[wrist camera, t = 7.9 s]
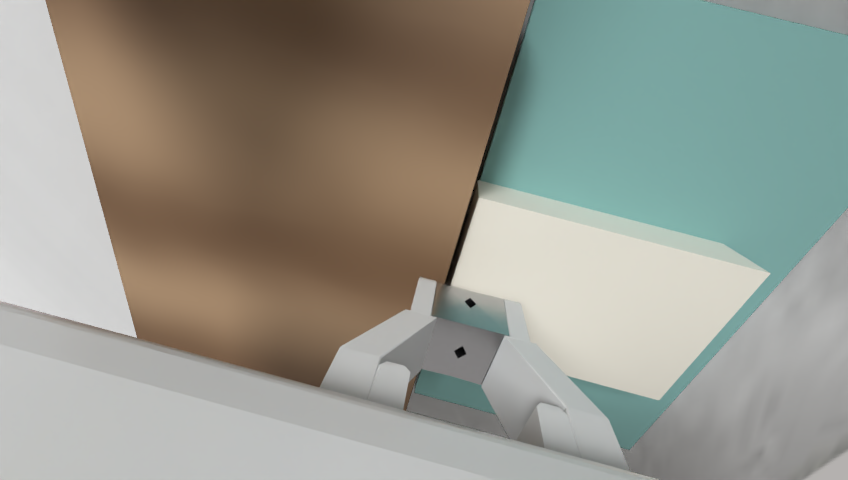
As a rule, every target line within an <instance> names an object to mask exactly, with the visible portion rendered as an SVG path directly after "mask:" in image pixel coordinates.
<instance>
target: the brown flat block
mask: <svg viewBox="0 0 848 480" xmlns="http://www.w3.org/2000/svg"><path fill="white" fill-rule="evenodd" d="M529 3H530V0H46V4H47V8H48V11H49V15H50V19H51V22H52V26H53V30H54V33H55V37H56V41H57V44H58V48H59V52H60V55H61V59H62V63H63V66H64V70H65V74H66V77H67V81H68V85H69V88H70V92H71V96H72V100H73V103H74V107H75V111H76V114H77V118H78V122H79V125H80V129H81V133H82V136H83V140H84V144H85V147H86V151H87V155H88V158H89V162H90V166H91V169H92V173H93V177H94V180H95V184H96V188H97V191H98V195H99V199H100V202H101V206H102V210H103V213H104V217H105V221H106V224H107V228H108V232H109V235H110V239H111V243H112V246H113V250H114V254H115V257H116V261H117V265H118V269H119V272H120V276H121V280H122V283H123V287H124V291H125V294H126V298H127V302H128V305H129V309H130V313H131V316H132V320H133V324H134V327H135V331H136V335H137V338H139V339H142V340H146V341H150V342H153V343H157V344H161V345H164V346H168V347H172V348H175V349H179V350H183V351H187V352H190V353H194V354H198V355H201V356H205V357H209V358H212V359H216V360H220V361H224V362H227V363H231V364H235V365H238V366H242V367H246V368H249V369H253V370H257V371H261V372H264V373H268V374H272V375H275V376H279V377H283V378H286V379H290V380H294V381H298V382H301V383H305V384H309V385H312V386H316V387H320V385H321V383H322V381H323V379H324V377H325V375H326V373H327V371H328V369H329V367H330V365H331V364H332V362H333V360H334V358H335V356H336V354H337V352H338V350H339V348H340V346H342V345H344V344H346V343H347V342H349V341H351V340H353V339H354V338H356V337H358V336H360V335H361V334H363V333H365V332H367V331H368V330H370V329H372V328H374V327H375V326H377V325H379V324H381V323H382V322H384V321H386V320H388V319H389V318H391V317H393V316H395V315H396V314H398V313H400V312H402V311H403V310H405V309H407V310H411V306H412V303H413V299H414V295H415V291H416V287H417V284H418V280H419V278H420V277H423V278H427V279H431V280H435V281H436V282H437V281H438V282H442V283H445V280H446V277H447V274H448V270H449V267H450V264H451V260H452V257H453V254H454V250H455V247H456V244H457V241H458V237H459V234H460V231H461V227H462V224H463V221H464V217H465V214H466V211H467V208H468V204H469V201H470V198H471V194H472V191H473V188H474V184H475V181H476V178H477V175H478V171H479V168H480V165H481V161H482V158H483V155H484V151H485V148H486V145H487V142H488V138H489V135H490V132H491V128H492V125H493V122H494V119H495V115H496V112H497V109H498V105H499V102H500V99H501V95H502V92H503V89H504V86H505V82H506V79H507V76H508V72H509V69H510V66H511V62H512V59H513V56H514V53H515V49H516V46H517V43H518V39H519V36H520V33H521V29H522V26H523V23H524V20H525V16H526V13H527V10H528V6H529ZM416 376H417V375H416ZM416 376H415V377H414V378H413V379H412V380H411V381H410V382H409V383H408V387H407V392H406V398H405V403H404V408H403V410H405V411H406V409H407V405H408V402H409V399H410V396H411V392H412V389H413V386H414V382H415V379H416Z"/></svg>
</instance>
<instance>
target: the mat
mask: <svg viewBox="0 0 848 480" xmlns="http://www.w3.org/2000/svg"><path fill="white" fill-rule="evenodd" d="M479 180H480V181H484V182H487V183H491V184H495V185H499V186H503V187H507V188H510V189H514V190H518V191H522V192H526V193H530V194H534V195H537V196H541V197H545V198H549V199H553V200H557V201H561V202H564V203H568V204H572V205H576V206H580V207H584V208H588V209H591V210H595V211H599V212H603V213H607V214H611V215H615V216H618V217H622V218H626V219H630V220H634V221H638V222H642V223H645V224H649V225H653V226H657V227H661V228H665V229H669V230H672V231H676V232H680V233H684V234H688V235H692V236H695V237H699V238H703V239H707V240H711V241H715V242H719V243H722V244H724V245H726V246H728V247H729V248H731V249H732V250H734V251H736V252H737V253H739V254H740V255H742V256H744V257H745V258H747V259H748V260H750V261H752V262H753V263H755V264H756V265H758V266H760V267H761V268H763V269H764V270H766V271H768V272H769V273H771V274H770V275H769V276H768V277H767V278H766V279H765V280H764V282H763V283H762V284H761V285H760V286H759V287H758V288H757V290H756V291H755V292H754V293H753V294H752V295H751V296H750V298H749V299H748V300H747V301H746V302H745V303H744V304H743V306H742V307H741V308H740V309H739V310H738V311H737V312H736V313H735V315H734V316H733V317H732V318H731V319H730V320H729V321H728V323H727V324H726V325H725V326H724V327H723V328H722V329H721V331H720V332H719V333H718V334H717V335H716V336H715V337H714V338H713V340H712V341H711V342H710V343H709V344H708V345H707V346H706V348H705V349H704V350H703V351H702V352H701V353H700V354H699V356H698V357H697V358H696V359H695V360H694V361H693V362H692V363H691V365H690V366H689V367H688V368H687V369H686V370H685V371H684V373H683V374H682V375H681V376H680V377H679V378H678V379H677V381H676V382H675V383H674V384H673V385H672V386H671V387H670V388H669V390H668V391H667V392H666V393H665V394H664V395H663V396H662V398H661V399H660V400H655V399H652V398H648V397H644V396H640V395H637V394H633V393H629V392H626V391H622V390H618V389H614V388H611V387H607V386H603V385H599V384H596V383H592V382H588V381H585V380H581V379H577V378H573V377H570V376H567V377H568V378H569V379H570V380H571V381H572V382H573V383H574V384H575V385H576V386H577V387H578V388H579V389H580V390H581V391H582V392H583V393H584V394H585V395H586V396H587V397H588V398H589V399H590V400H591V401H592V403H593V404H594V405H595V406H596V407H597V408H598V409H599V410H600V411H601V412H602V413H603V414H604V415H605V416H606V417H607V418H608V419H609V421H610V424H611V426H612V428H613V431H614V433H615V436H616V438H617V440H618V443H619V445H620V448H624V449H628V450H630V449H631V447H632V446H633V445H634V444H635V443H636V442H637V441H638V440H639V439H640V437H641V436H642V435H643V434H644V433H645V432H646V431H647V430H648V429H649V428H650V426H651V425H652V424H653V423H654V422H655V421H656V420H657V419H658V418H659V416H660V415H661V414H662V413H663V412H664V411H665V410H666V409H667V408H668V406H669V405H670V404H671V403H672V402H673V401H674V400H675V399H676V398H677V396H678V395H679V394H680V393H681V392H682V391H683V390H684V389H685V388H686V386H687V385H688V384H689V383H690V382H691V381H692V380H693V379H694V378H695V377H696V375H697V374H698V373H699V372H700V371H701V370H702V369H703V368H704V367H705V365H706V364H707V363H708V362H709V361H710V360H711V359H712V358H713V357H714V355H715V354H716V353H717V352H718V351H719V350H720V349H721V348H722V347H723V345H724V344H725V343H726V342H727V341H728V340H729V339H730V338H731V337H732V335H733V334H734V333H735V332H736V331H737V330H738V329H739V328H740V327H741V326H742V324H743V323H744V322H745V321H746V320H747V319H748V318H749V317H750V316H751V314H752V313H753V312H754V311H755V310H756V309H757V308H758V307H759V306H760V304H761V303H762V302H763V301H764V300H765V299H766V298H767V297H768V296H769V294H770V293H771V292H772V291H773V290H774V289H775V288H776V287H777V286H778V284H779V283H780V282H781V281H782V280H783V279H784V278H785V277H786V276H787V275H788V273H789V272H790V271H791V270H792V269H793V268H794V267H795V266H796V265H797V263H798V262H799V261H800V260H801V259H802V258H803V257H804V256H805V255H806V253H807V252H808V251H809V250H810V249H811V248H812V247H813V246H814V245H815V243H816V242H817V241H818V240H819V239H820V238H821V237H822V236H823V235H824V233H825V232H826V231H827V230H828V229H829V228H830V227H831V226H832V225H833V224H834V222H835V221H836V220H837V219H838V218H839V217H840V216H841V215H842V214H843V212H844V211H845V210H846V209H847V208H848V35H845V34H840V33H836V32H832V31H828V30H824V29H819V28H815V27H811V26H807V25H803V24H799V23H794V22H790V21H786V20H782V19H778V18H773V17H769V16H765V15H761V14H757V13H752V12H748V11H744V10H740V9H736V8H732V7H727V6H723V5H719V4H715V3H711V2H706V1H702V0H535V1H534V4H533V7H532V10H531V14H530V17H529V20H528V23H527V27H526V30H525V33H524V36H523V40H522V43H521V46H520V49H519V53H518V56H517V59H516V62H515V66H514V69H513V72H512V75H511V78H510V82H509V85H508V88H507V91H506V95H505V98H504V101H503V104H502V108H501V111H500V114H499V117H498V121H497V124H496V127H495V130H494V134H493V137H492V140H491V143H490V147H489V150H488V153H487V156H486V160H485V163H484V166H483V169H482V173H481V176H480V179H479ZM481 386H482V385H479V384H476V383H472V382H469V381H466V380H462V379H459V378H456V377H452V376H448V375H444V374H440V373H436V372H431V371H427V370H423V369H421V371H420V374H419V377H418V380H417V383H416V387H415V392H414V393H418V394H421V395H425V396H429V397H433V398H436V399H440V400H444V401H448V402H451V403H455V404H459V405H463V406H466V407H470V408H474V409H478V410H481V411H485V412H489V413H493V414H496V413H495V411H494V410H493V408H492V406H491V404H490V402H489V400H488V398H487V397H486V395H485V393H484V391H483V389H482V387H481Z"/></svg>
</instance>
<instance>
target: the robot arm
mask: <svg viewBox="0 0 848 480" xmlns="http://www.w3.org/2000/svg"><path fill="white" fill-rule="evenodd" d="M421 369H423V370H427V371H431V372H436V373H440V374H444V375H448V376H452V377H456V378H459V379H462V380H466V381H469V382H472V383H476V384H479V385H482V386H481V387H482V389H483V391H484V393H485V395H486V397H487V398H488V400H489V402H490V404H491V406H492V408H493V410H494V411H495V413H496V415H497V417H498V419H499V421H500V423H501V424H502V426H503V428H504V430H505V432H506V434H507V436H508V437H509V438H505V437H501V436H498V435H494V434H490V433H487V432H483V431H479V430H475V429H472V428H468V427H464V426H461V425H457V424H453V423H450V422H446V421H442V420H438V419H435V418H431V417H427V416H424V415H420V414H416V413H412V412H409V411H405V410H403V408H404V403H405V398H406V392H407V387H408V383H409V382H410V381H411V380H412V379H413V378H414V377H415V376H416V375H417V374H418V373H419V372H420V371H421ZM0 480H660V479H656V478H652V477H649V476H645V475H641V474H638V473H634V472H630V469H629V467H628V464H627V462H626V460H625V457H624V455H623V452H622V450H621V448H620V445H619V443H618V440H617V438H616V436H615V433H614V431H613V428H612V426H611V424H610V421H609V419H608V418H607V417H606V416H605V415H604V414H603V413H602V412H601V411H600V410H599V409H598V408H597V407H596V406H595V405H594V404H593V403H592V401H591V400H590V399H589V398H588V397H587V396H586V395H585V394H584V393H583V392H582V391H581V390H580V389H579V388H578V387H577V386H576V385H575V384H574V383H573V382H572V381H571V380H570V379H569V378H568V377H567V375H566V374H565V373H564V372H563V371H562V370H561V369H560V368H559V367H558V366H557V365H556V364H555V363H554V362H553V361H552V360H551V359H550V358H549V357H548V356H547V355H546V354H545V353H544V352H543V351H542V350H541V348H540V347H539V346H538V345H537V344H535V343H532V342H530V338H529V334H528V330H527V326H526V322H525V318H524V314H523V310H522V306H521V304H520V303H519V302H515V301H511V300H507V299H501V298H497V297H493V296H489V295H485V294H480V293H476V292H472V291H469V290H466V289H463V288H459V287H456V286H452V285H449V284H445V283H442V282H438V281H437V282H436V281H435V280H431V279H427V278H423V277H420V278H419V280H418V284H417V287H416V291H415V295H414V299H413V303H412V306H411V310H407V309H405V310H403V311H402V312H400V313H398V314H396V315H395V316H393V317H391V318H389V319H388V320H386V321H384V322H382V323H381V324H379V325H377V326H375V327H374V328H372V329H370V330H368V331H367V332H365V333H363V334H361V335H360V336H358V337H356V338H354V339H353V340H351V341H349V342H347V343H346V344H344V345H342V346H340V348H339V350H338V352H337V354H336V356H335V358H334V360H333V362H332V364H331V365H330V367H329V369H328V371H327V373H326V375H325V377H324V379H323V381H322V383H321V385H320V387H316V386H312V385H309V384H305V383H301V382H298V381H294V380H290V379H286V378H283V377H279V376H275V375H272V374H268V373H264V372H261V371H257V370H253V369H249V368H246V367H242V366H238V365H235V364H231V363H227V362H224V361H220V360H216V359H212V358H209V357H205V356H201V355H198V354H194V353H190V352H187V351H183V350H179V349H175V348H172V347H168V346H164V345H161V344H157V343H153V342H150V341H146V340H142V339H139V338H135V337H131V336H127V335H124V334H120V333H116V332H113V331H109V330H105V329H102V328H98V327H94V326H91V325H87V324H83V323H79V322H76V321H72V320H68V319H65V318H61V317H57V316H54V315H50V314H46V313H42V312H39V311H35V310H31V309H28V308H24V307H20V306H17V305H13V304H9V303H6V302H2V301H0Z"/></svg>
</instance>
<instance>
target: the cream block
mask: <svg viewBox="0 0 848 480" xmlns="http://www.w3.org/2000/svg"><path fill="white" fill-rule="evenodd" d="M770 274H771V273H769V272H768V271H766V270H764V269H763V268H761V267H760V266H758V265H756V264H755V263H753V262H752V261H750V260H748V259H747V258H745V257H744V256H742V255H740V254H739V253H737V252H736V251H734V250H732V249H731V248H729V247H728V246H726V245H724V244H722V243H719V242H715V241H711V240H707V239H703V238H699V237H695V236H692V235H688V234H684V233H680V232H676V231H672V230H669V229H665V228H661V227H657V226H653V225H649V224H645V223H642V222H638V221H634V220H630V219H626V218H622V217H618V216H615V215H611V214H607V213H603V212H599V211H595V210H591V209H588V208H584V207H580V206H576V205H572V204H568V203H564V202H561V201H557V200H553V199H549V198H545V197H541V196H537V195H534V194H530V193H526V192H522V191H518V190H514V189H510V188H507V187H503V186H499V185H495V184H491V183H487V182H484V181H480V180H477V183H476V186H475V190H474V193H473V196H472V199H471V202H470V206H469V209H468V212H467V215H466V218H465V222H464V225H463V228H462V231H461V234H460V238H459V241H458V244H457V247H456V250H455V254H454V257H453V260H452V263H451V266H450V270H449V273H448V276H447V279H446V282H445V284H449V285H452V286H456V287H459V288H463V289H466V290H469V291H472V292H476V293H480V294H485V295H489V296H493V297H497V298H501V299H507V300H511V301H515V302H519V303H520V304H521V306H522V310H523V314H524V318H525V322H526V326H527V330H528V334H529V338H530V342H532V343H535V344H537V345H538V346H539V347H540V348H541V350H542V351H543V352H544V353H545V354H546V355H547V356H548V357H549V358H550V359H551V360H552V361H553V362H554V363H555V364H556V365H557V366H558V367H559V368H560V369H561V370H562V371H563V372H564V373H565V374H566V375H567V376H570V377H573V378H577V379H581V380H585V381H588V382H592V383H596V384H599V385H603V386H607V387H611V388H614V389H618V390H622V391H626V392H629V393H633V394H637V395H640V396H644V397H648V398H652V399H655V400H660V399H661V398H662V396H663V395H664V394H665V393H666V392H667V391H668V390H669V388H670V387H671V386H672V385H673V384H674V383H675V382H676V381H677V379H678V378H679V377H680V376H681V375H682V374H683V373H684V371H685V370H686V369H687V368H688V367H689V366H690V365H691V363H692V362H693V361H694V360H695V359H696V358H697V357H698V356H699V354H700V353H701V352H702V351H703V350H704V349H705V348H706V346H707V345H708V344H709V343H710V342H711V341H712V340H713V338H714V337H715V336H716V335H717V334H718V333H719V332H720V331H721V329H722V328H723V327H724V326H725V325H726V324H727V323H728V321H729V320H730V319H731V318H732V317H733V316H734V315H735V313H736V312H737V311H738V310H739V309H740V308H741V307H742V306H743V304H744V303H745V302H746V301H747V300H748V299H749V298H750V296H751V295H752V294H753V293H754V292H755V291H756V290H757V288H758V287H759V286H760V285H761V284H762V283H763V282H764V280H765V279H766V278H767V277H768V276H769V275H770Z"/></svg>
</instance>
